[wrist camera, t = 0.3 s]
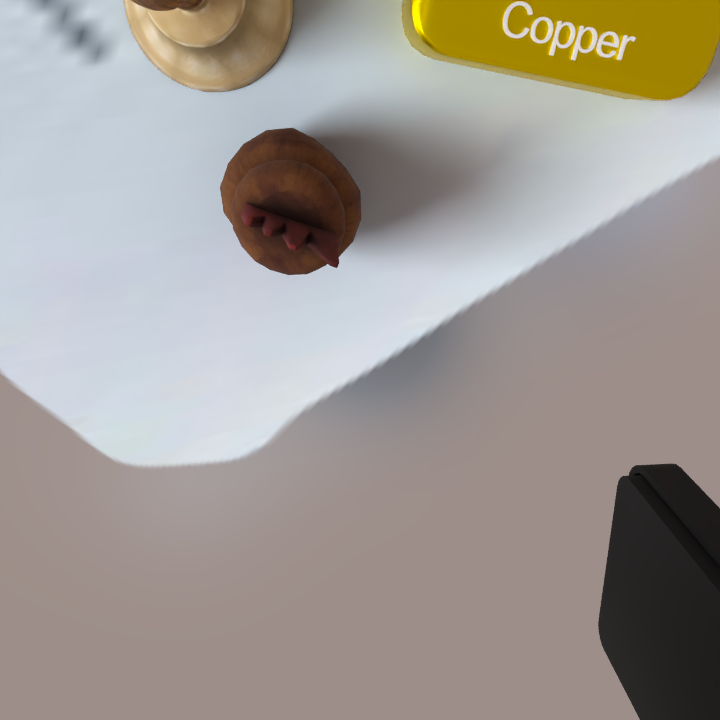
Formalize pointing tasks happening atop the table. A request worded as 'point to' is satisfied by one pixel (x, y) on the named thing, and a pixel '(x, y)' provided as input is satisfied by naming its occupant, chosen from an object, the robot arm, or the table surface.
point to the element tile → (574, 41)
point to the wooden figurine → (290, 202)
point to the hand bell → (211, 39)
